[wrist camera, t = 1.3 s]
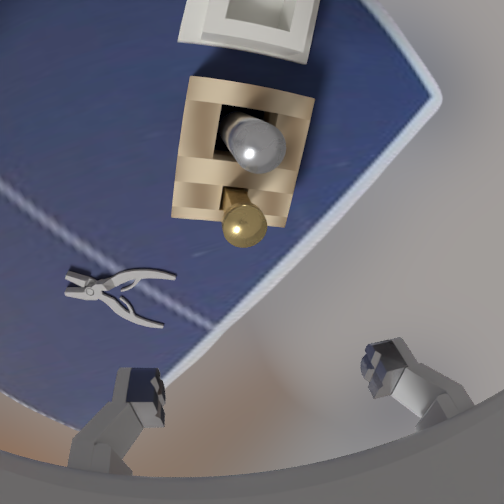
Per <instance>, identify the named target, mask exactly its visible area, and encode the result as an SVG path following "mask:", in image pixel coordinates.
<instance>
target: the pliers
mask: <svg viewBox="0 0 504 504" xmlns="http://www.w3.org/2000/svg"><path fill="white" fill-rule="evenodd" d="M142 278H158V279H170V280H175V278H176V276H175V275H172V274H170V273H166V272H163V271H158V270H152V269H133V270H127V271H123V272H120V273H118V274H116V275H114V276H112V277H110V278H106V279H101V280H98V281H97V280H95V279H93V278H91V277H88V276H85V275H81V274H78V273H75V272H71V271H68V272H67V274H66V277H65V279H67V280H69V281H71V282H73V283H75V284H77V285H79V286H81V287H67V288H66V291H65V295H66V296H69V297H74V298H79V299H84V300H97V299H100V300H102V301H103V302H105V303H106V304H107V305H109V307H110V308H111V309H112V310H113V311H114V312H115V313H117V314H118V315H120V316H121V317H123V318H125V319H127V320H129V321H131V322H133V323H136V324H139V325H143V326H147V327H153V328H163V324H160V323H156V322H153V321H150V320H147V319H144V318H141V317H139V316H137V315H135V313H134V312H133V309H132V307H131V305H130V304H129V302H127V301H126V300H125V299H124V298H123V297H121V296H120V299H121V300H122V301H123V302H124V303H125V304H126V305H127V306H128V308H129V310H130V312H129V311H127V310H126V309H125V308H124V307H122V306H121V305H120V304H119V303H118V302H117V301H116V299H115V298H113V297H111V296H108V295H106V294H104V293H103V292H102V291H108V290H110V289H112V288H114V287H116V286H118V285H120V284H122V283H124V282H127V281H129V280H133V279H135V281H134V282H133V283H132V284H131V285H130V286H128V287H125V288H122V289H121V292H122V291H126V290H129V289H131V288H132V287H134V286H135V285H136V284H137V283H138V281H139V280H141V279H142ZM85 286H86V287H85Z"/></svg>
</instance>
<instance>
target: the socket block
mask: <svg viewBox="0 0 504 504" xmlns="http://www.w3.org/2000/svg"><path fill="white" fill-rule="evenodd" d="M314 101H315V99H314V98H310V97H306V96H302V95H298V94H294V93H290V92H285V91H281V90H276V89H271V88H267V87H262V86H256V85H251V84H245V83H240V82H234V81H227V80H220V79H213V78H206V77H197V76H190V79H189V85H188V91H187V97H186V103H185V109H184V115H183V122H182V129H181V136H180V143H179V150H178V158H177V166H176V175H175V184H174V194H173V204H172V215H171V217H173V218H185V219H198V220H210V221H221V222H222V217H223V215H224V212H223V208H222V205H221V198H222V188H223V186H230V187H239V188H244V190H245V192H246V193H247V195H248V197H249V199H250V201H251V203H253V204H255V205H256V206H258V207H259V208H260V209H261V211H262V213H263V214H264V216H265V218H266V221H267V226H275V227H285V224H286V220H287V216H288V212H289V208H290V204H291V200H292V196H293V192H294V187H295V183H296V179H297V175H298V171H299V167H300V162H301V158H302V154H303V150H304V145H305V141H306V137H307V132H308V128H309V123H310V119H311V115H312V110H313V106H314ZM222 104H226V105H232V106H239V107H245V108H251V109H257V110H262V111H265V112H264V117H263V121H265V122H267V123H269V124H271V125H273V126H275V127H276V128H278V129H279V130H280V131H281V133H282V134H283V136H284V138H285V141H286V153H285V156H284V159H283V160H282V162H281V163H280V165H279V166H278V167H276V168H275V169H274V170H272V171H270V172H267V173H263V174H255V173H251V172H248V171H246V170H245V169H243V168H242V167H241V166H240V165H239V164H238V162H237V161H236V159H235V158H234V156H233V155H232V153H231V152H230V151H223V150H214V147H215V141H216V135H217V129H218V123H219V118H220V112H221V106H222Z"/></svg>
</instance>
